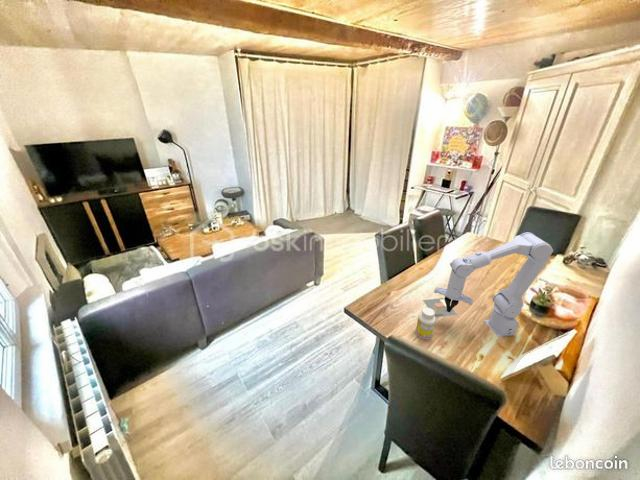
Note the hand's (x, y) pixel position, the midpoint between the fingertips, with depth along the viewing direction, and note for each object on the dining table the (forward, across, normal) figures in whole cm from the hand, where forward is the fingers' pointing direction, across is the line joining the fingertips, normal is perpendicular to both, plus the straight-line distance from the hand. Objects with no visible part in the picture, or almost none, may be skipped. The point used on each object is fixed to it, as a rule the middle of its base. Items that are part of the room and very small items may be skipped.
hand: (448, 310), depth 107 cm
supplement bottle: (+8, +6, +11) cm, 15 cm away
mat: (+8, +5, -9) cm, 13 cm away
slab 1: (+7, +4, -5) cm, 10 cm away
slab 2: (+6, +1, -10) cm, 12 cm away
